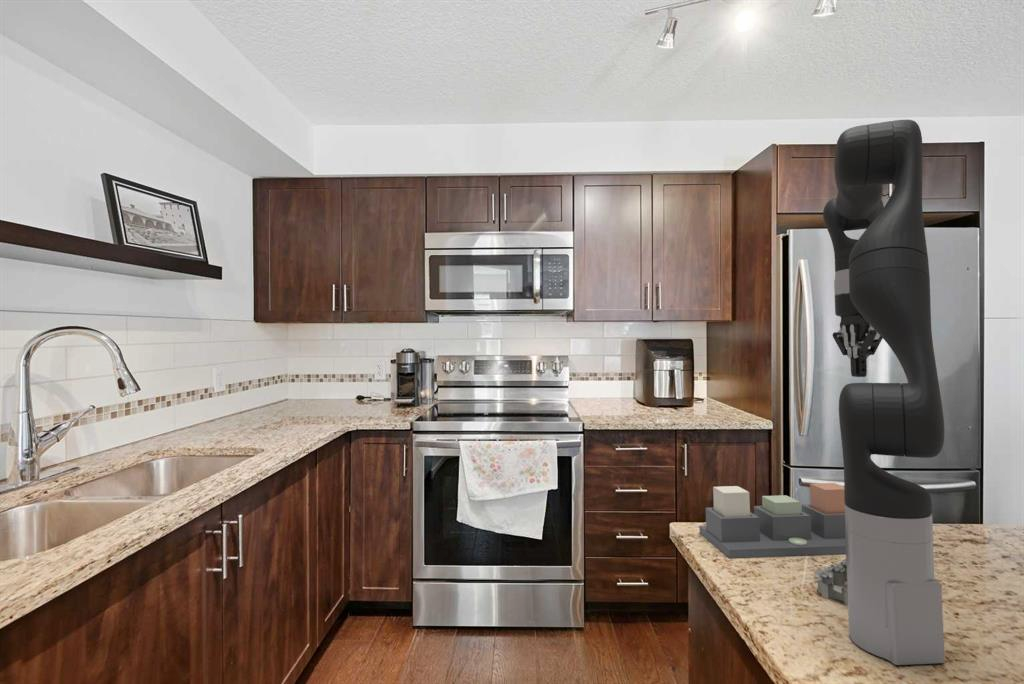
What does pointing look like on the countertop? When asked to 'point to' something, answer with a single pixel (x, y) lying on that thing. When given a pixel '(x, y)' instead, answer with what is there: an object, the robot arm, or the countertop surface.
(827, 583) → the grey ruined fortress
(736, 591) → the countertop surface
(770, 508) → the sage key
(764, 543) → the key panel
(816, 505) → the terracotta key
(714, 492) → the cream key
